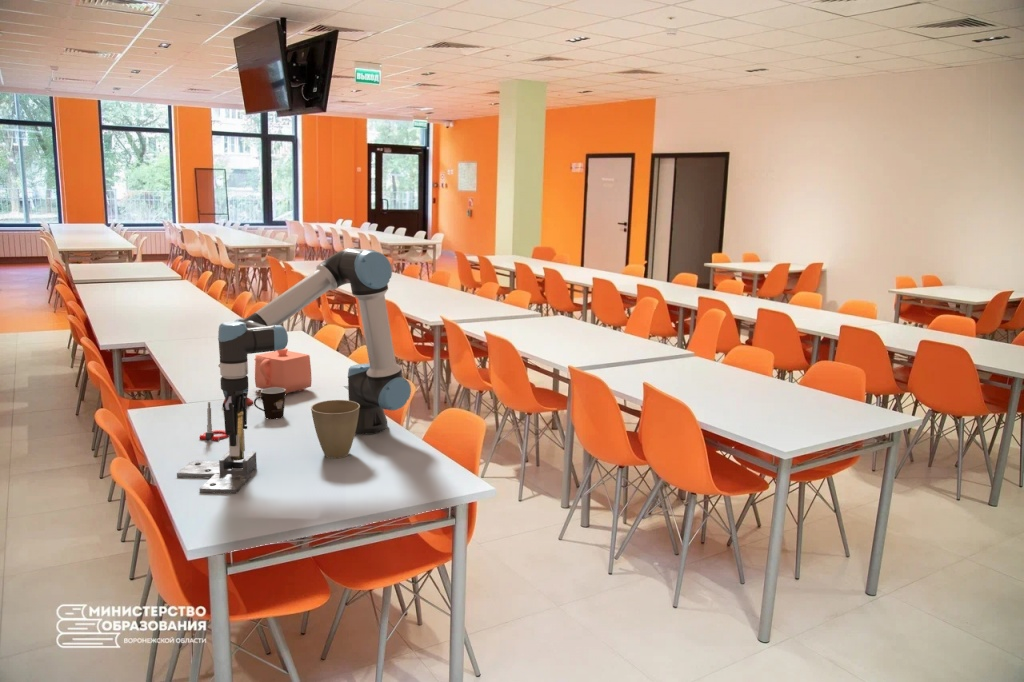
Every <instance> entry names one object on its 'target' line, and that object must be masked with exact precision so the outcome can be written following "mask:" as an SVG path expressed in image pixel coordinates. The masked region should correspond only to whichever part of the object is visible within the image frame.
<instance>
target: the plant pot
mask: <svg viewBox="0 0 1024 682" xmlns="http://www.w3.org/2000/svg"><path fill="white" fill-rule="evenodd" d="M359 408H360V405H359V404H358V403H356V402H353V401H349V400H346V399H345V400H344V399H330V400H323V401H320V402H315V403H314V404H312V405H311V407H310V410H311V417H312V419H313V420H312V421H313V426H314V429H315V433H316V436H317V439H318V442H319V445H320V448H321V451H322V452H323V454H324V456H325V457H326V458H329V459H342V458H345V457H347V456H349V453H350V451H351V448H352V444H353V442H354V439H355V435H356V434H355V432H356V428H357V423H358V416H359Z"/></svg>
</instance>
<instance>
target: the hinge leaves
mask: <svg viewBox="0 0 1024 682" xmlns="http://www.w3.org/2000/svg"><path fill="white" fill-rule="evenodd" d="M257 466H258V465H257V451H251V452H250V453H249V454H248V455H247V456H246V457H244V459H242V460H237V461H235V460H231V456H230V453H229V451H228V452H227V453H226V454H224V455H223V456H222V457H221V458H220V459H219V460H218V461H208V460H207V461H206V460H205V461H204V460H202V461H200V460H198V461H197V460H191V461H189V462H188V463H187V464H186V465H184V466H182V468H181V469H180V470H179V471H178V472H176V477H177V478H196V477H210V478H208V480H207V481H206V482H205V483H204V484H203V485H202V486H201V487H199V493H200V494H234V495H236V494H238V492H240V491H241V489H242V488H243V486H245V485H246V484H247V483H248V482H249V480H250V479H251V478H252V473H253V472H254V471H255V470H257ZM232 468H243V469H232ZM245 483H246V484H245Z"/></svg>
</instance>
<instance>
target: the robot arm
mask: <svg viewBox="0 0 1024 682" xmlns="http://www.w3.org/2000/svg"><path fill="white" fill-rule="evenodd" d="M392 269H393V268H392V265H391V262H390V260H389V259H388V257H387V256H386V255H384V254H383V253H381V252H379V251H376V250H373V249H366V248H365V249H363V248H357V247H349V248H345V249H342V250H340V251H338V252H336V253H333V255H331V256H329V257H327V259H324V260H323V261H322V262H320V263H319V264H317V266H316V269H315V270H314V271H313V272H312V273H310V274H308V275H307V276H306V277H304V278H303V279H301V280H299V281H298V282H297V283H296V284H294V285H292V286H290V288H289V289H287V290H285V291H284V292H283V293H281V294H280V295H279V296H277V297H275V298H274V299H272V300H271V301H269V302H268V303H267V304H265V305H264V306H263V307H261V308H260V309H258V310H257V311H255V312H253V313H252V314H250V315H249V316H247V317H246V318H245V317H244V318H237V319H236V320H234V321H225V322H222V323H220V325H219V326H218V332H217V333H218V336H217V337H218V338H217V341H218V353H219V354H218V355H219V364H218V365H217V366H218V368H219V373H220V375H221V377H220V390H222V392H223V391H226V392H227V396H226V403H222V409H223V417H224V418H223V419H224V431H225V435H229V436H228V448H229V450H228V452H229V453H230V456H240V447H239V434H238V412H239V411H243V415H242V420H243V446H244V452H245V451H246V444H245V430H248V426H247V424H248V416H247V414H248V410H247V407H248V406H247V402H246V400H247V398H248V395H247V392H243V390H246V389H247V388H248V389H249V376H248V375H249V366H248V365H249V364H248V363H249V362H248V360H249V359H248V355H251V354H262V353H269V352H274V351H278V350H283V349H284V348H286V347H287V346H288V342H289V335H288V332H287V329H286V328H285V326H283V325H281V324H283V323H284V322H286V321H288V320H289V319H290V318H292V317H293V316H295V315H296V314H297V313H299V312H300V311H301V310H303V309H305V308H306V307H307V306H309V305H310V304H311V303H312V302H314V301H316V300H317V299H319V298H320V297H321V296H322V295H325V293H327V292H328V291H330V290H337V289H338V288H340V287H341V286H343V285H346V284H350V289H351V295H352V296H354V297H355V298H356V299H357V301H358V306H359V312H360V318H361V325H362V328H363V335H364V341H365V346H366V351H367V356H368V357H367V358H368V363H360V364H354V365H352V366H351V365H350V367H349V368H348V371H347V379H348V380H347V381H348V384H347V386H348V392H347V393H348V401H353V402H356V403H358V404H359V405H360V408H359V416H358V423H357V428H356V432H355V435H371V434H378V433H383V432H385V431H386V430H387V429H388V418H387V415H386V413H385V410H387V411H398V410H400V409H402V408H403V407H404V406H405V405H407V402H408V401H409V399H410V398H411V395H412V387H411V384H410V381H408V380H407V378H405V377H403V376H404V375H403V371H402V366H401V365H400V364H398V363H397V362H396V356H395V350H394V344H393V338H392V332H391V326H390V321H389V314H388V307H387V302H386V301H387V300H386V296H385V294H386V293H387V291H388V290H389V285H388V284H389V282H390V279H391V278H392V275H393V270H392ZM286 349H287V348H286Z"/></svg>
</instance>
